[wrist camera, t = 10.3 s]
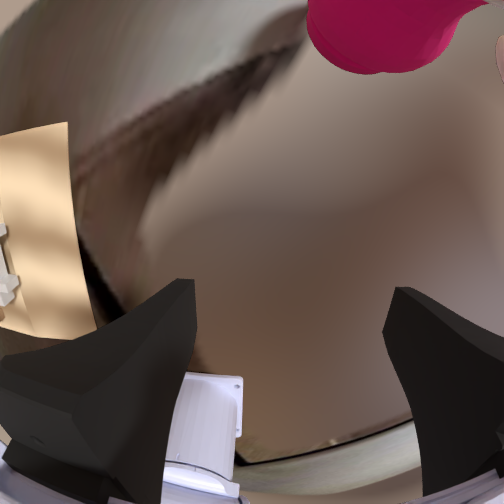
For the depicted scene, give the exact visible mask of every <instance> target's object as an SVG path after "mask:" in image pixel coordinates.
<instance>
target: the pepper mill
mask: <svg viewBox="0 0 504 504" xmlns="http://www.w3.org/2000/svg"><path fill="white" fill-rule="evenodd" d="M485 4H492V5H493V6H496V7H499V8H501V9H504V0H308V7H309V10H308V13H307V19H306V20H307V30H308V34H309V36H310V38H311V40H312V42H313V44H314V46H315V47H316V49H317V50H318V51H319V52H320V53H321V55H322V56H324V57H325V58H326V59H327V60H328V61H329V62H331V63H332V64H334V65H335V66H337V67H339V68H341V69H343V70H346V71H349V72H352V73H357V74H365V75H366V74H376V73H380V72H387V73H403V72H408V71H413V70H415V69H418V68H420V67H422V66H424V65H426V64H428V63H431V62H432V61H433V60H434V59H436V58H437V57H438V56H440V54H441V53H442V52H443V51H444V50H445V48H446V47H447V46H448V45H449V43H450V40H451V39H452V37H453V34H454V32H455V29H456V27H457V24H458V22H459V20H460V19H461V18H462V16H463V15H464V14H466V13H468V12H470V11H471V10H473V9H475V8H477V7H479V6H481V5H485Z"/></svg>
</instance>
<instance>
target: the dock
mask: <svg viewBox="0 0 504 504" xmlns="http://www.w3.org/2000/svg"><path fill="white" fill-rule="evenodd" d="M0 223H5V227H6V232H7V233H6V234H4V235H2V236H1V237H0V245H1V249H2V253H3V257H4V261H5V265H6V269H7V273H8V274H12V275H17V278H18V281H19V285H17V286H16V287H15V288H14V289H13V293H14V296H15V297H14V298H13V299H12V300H11V301H10V302H9V303H8V304H7V305H6V306H5V307H4V306H0V326H1V327H4V328H7V329H11V330H14V331H17V332H21V333H25V334H28V335H32V336H36V337H44V338H55V339H68V340H73V339H75V338H78V337H80V336H83V335H85V334H88V333H90V332H93V331H95V330H97V327H96V323H95V319H94V315H93V312H92V308H91V304H90V300H89V295H88V291H87V287H86V282H85V277H84V273H83V268H82V263H81V257H80V252H79V246H78V240H77V233H76V227H75V219H74V212H73V203H72V194H71V183H70V170H69V152H68V122H64V123H58V124H52V125H47V126H42V127H37V128H33V129H28V130H24V131H19V132H15V133H11V134H7V135H3V136H0Z"/></svg>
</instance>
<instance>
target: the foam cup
mask: <svg viewBox="0 0 504 504" xmlns="http://www.w3.org/2000/svg"><path fill="white" fill-rule="evenodd" d="M495 51H496V64H497V67H498V70H499V72H500V75H501V78H502V81H503V83H504V35H502V36H500V37H499V38H498V41H497V44H496V47H495Z"/></svg>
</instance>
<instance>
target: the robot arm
mask: <svg viewBox="0 0 504 504" xmlns="http://www.w3.org/2000/svg"><path fill="white" fill-rule="evenodd" d="M196 332H197V317H196V301H195V284H194V279H178V278H177V279H176V280H174V281H172V282H171V283H170V284H168V285H167V286H166V287H164V288H163V289H161V290H160V291H159V292H157V293H156V294H155V295H153V296H152V297H150V298H149V299H148V300H146V301H145V302H144V303H142V304H140V305H139V306H137V307H136V308H134V309H133V310H131V311H130V312H128V313H127V314H125V315H123V316H122V317H120V318H118V319H117V320H115V321H113V322H111V323H109V324H107V325H105V326H103V327H101V328H99V329H97V330H95V331H93V332H90V333H88V334H85V335H83V336H80V337H78V338H75V339H73V340H70V341H67V342H64V343H61V344H58V345H55V346H51V347H47V348H44V349H40V350H35V351H30V352H25V353H19V354H13V355H6V356H4V357H3V358H2V360H1V361H0V424H1V426H2V427H3V428H4V429H5V431H6V432H7V433H8V435H9V436H10V437H11V438H12V440H11V441H10V443H9V445H8V446H7V445H6V444H5V443H3V442H2V441H1V440H0V504H250V502H249V500H248V499H247V498H246V497H245V496H243V495H239V484H237V483H233V482H232V475H233V462H234V450H235V437H240V436H241V434H242V402H243V379H242V377H240V376H230V375H216V374H204V373H194V372H186V371H187V368H188V365H189V362H190V359H191V355H192V352H193V348H194V343H195V338H196ZM382 333H383V337H384V341H385V345H386V348H387V351H388V355H389V357H390V359H391V361H392V364H393V366H394V369H395V371H396V373H397V376H398V378H399V380H400V383H401V385H402V387H403V389H404V392H405V394H406V397H407V399H408V402H409V405H410V408H411V412H412V416H413V420H414V424H415V428H416V433H417V438H418V443H419V449H420V457H421V466H422V481H423V497H421V498H418V499H415V500H411V501H408V502H404V503H400V504H504V337H501V336H499V335H496V334H494V333H492V332H490V331H488V330H486V329H483V328H481V327H479V326H477V325H476V324H474V323H472V322H470V321H469V320H467V319H465V318H463V317H461V316H459V315H458V314H456V313H455V312H453V311H451V310H450V309H448V308H446V307H445V306H443V305H441V304H440V303H438V302H437V301H435V300H433V299H432V298H430V297H428V296H426V295H425V294H423V293H421V292H419V291H417V290H415V289H413V288H411V287H395V291H394V294H393V298H392V301H391V305H390V308H389V312H388V315H387V318H386V321H385V325H384V328H383V331H382Z"/></svg>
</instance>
